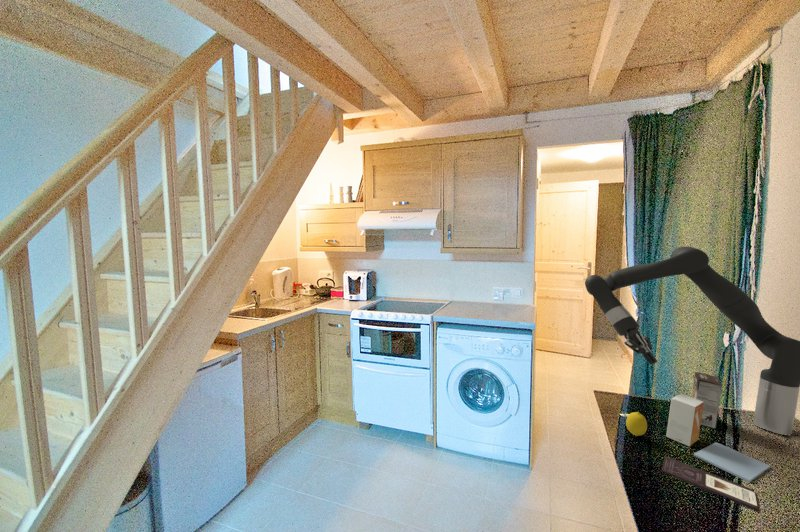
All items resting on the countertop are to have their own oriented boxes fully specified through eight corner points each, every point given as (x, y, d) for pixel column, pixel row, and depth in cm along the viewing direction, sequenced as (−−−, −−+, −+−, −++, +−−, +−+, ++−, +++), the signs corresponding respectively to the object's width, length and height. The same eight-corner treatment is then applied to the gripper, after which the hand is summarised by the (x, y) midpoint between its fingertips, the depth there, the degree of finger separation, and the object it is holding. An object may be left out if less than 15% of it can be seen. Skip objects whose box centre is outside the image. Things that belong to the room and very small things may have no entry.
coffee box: (688, 412, 127) (694, 371, 125) (711, 418, 123) (717, 376, 122) (691, 422, 119) (697, 378, 118) (716, 429, 116) (722, 384, 114)
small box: (690, 447, 103) (695, 407, 102) (665, 436, 109) (670, 398, 108) (699, 440, 108) (704, 401, 107) (674, 430, 113) (679, 393, 112)
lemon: (644, 435, 109) (647, 411, 108) (646, 443, 104) (649, 418, 104) (624, 429, 112) (627, 406, 111) (624, 436, 107) (627, 412, 106)
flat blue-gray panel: (715, 443, 106) (716, 442, 106) (770, 467, 96) (770, 465, 96) (693, 455, 99) (693, 453, 99) (749, 482, 89) (749, 480, 89)
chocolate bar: (664, 455, 97) (754, 489, 85) (664, 458, 98) (753, 493, 85) (661, 470, 91) (757, 509, 79) (661, 473, 91) (757, 512, 79)
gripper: (619, 316, 121) (653, 360, 112) (639, 314, 127) (673, 356, 118) (603, 326, 126) (634, 370, 117) (623, 324, 133) (654, 365, 123)
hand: (654, 363), depth 117 cm, fingers closed
